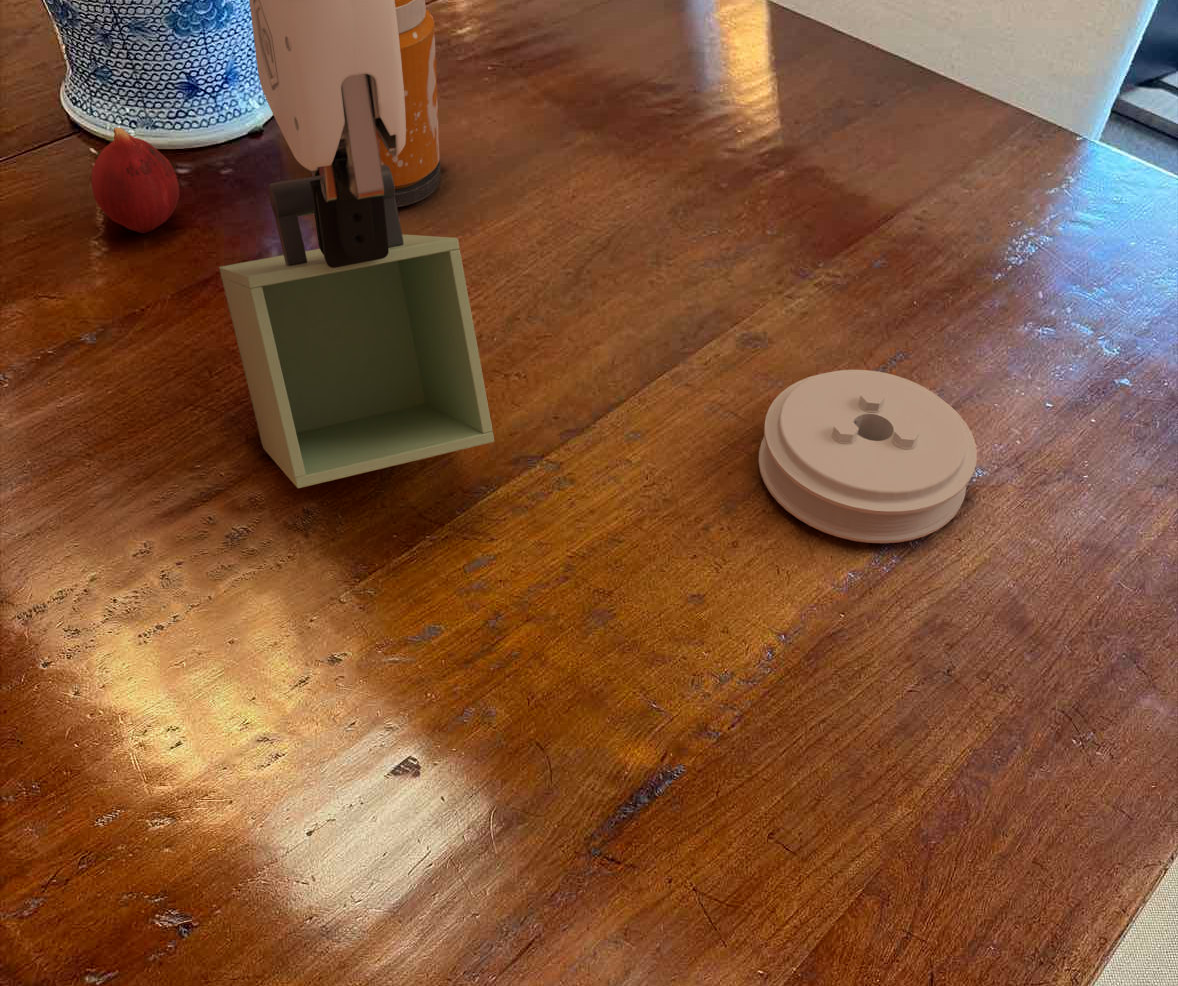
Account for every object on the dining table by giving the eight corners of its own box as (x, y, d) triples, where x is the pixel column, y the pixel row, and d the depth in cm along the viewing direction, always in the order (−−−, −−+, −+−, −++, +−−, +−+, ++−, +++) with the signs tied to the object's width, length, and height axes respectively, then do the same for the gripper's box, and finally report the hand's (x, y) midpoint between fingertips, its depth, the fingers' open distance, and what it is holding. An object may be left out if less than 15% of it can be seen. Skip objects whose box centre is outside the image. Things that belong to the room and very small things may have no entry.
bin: (495, 442, 71) (443, 155, 66) (297, 488, 68) (227, 191, 63) (434, 410, 83) (386, 164, 78) (262, 448, 80) (201, 194, 75)
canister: (448, 211, 98) (438, -64, 84) (300, 223, 97) (262, -57, 82) (432, 151, 104) (420, -117, 90) (292, 160, 102) (255, -112, 88)
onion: (195, 212, 97) (175, 110, 91) (176, 256, 93) (154, 153, 87) (117, 207, 97) (91, 105, 91) (94, 251, 93) (66, 148, 87)
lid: (718, 494, 79) (729, 431, 75) (814, 389, 86) (828, 327, 83) (908, 586, 75) (929, 524, 71) (993, 467, 82) (1016, 405, 78)
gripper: (181, -188, 56) (249, 193, 70) (256, -55, 47) (318, 355, 61) (350, -203, 59) (384, 170, 72) (454, -79, 49) (471, 322, 63)
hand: (354, 253), depth 66 cm, fingers closed
